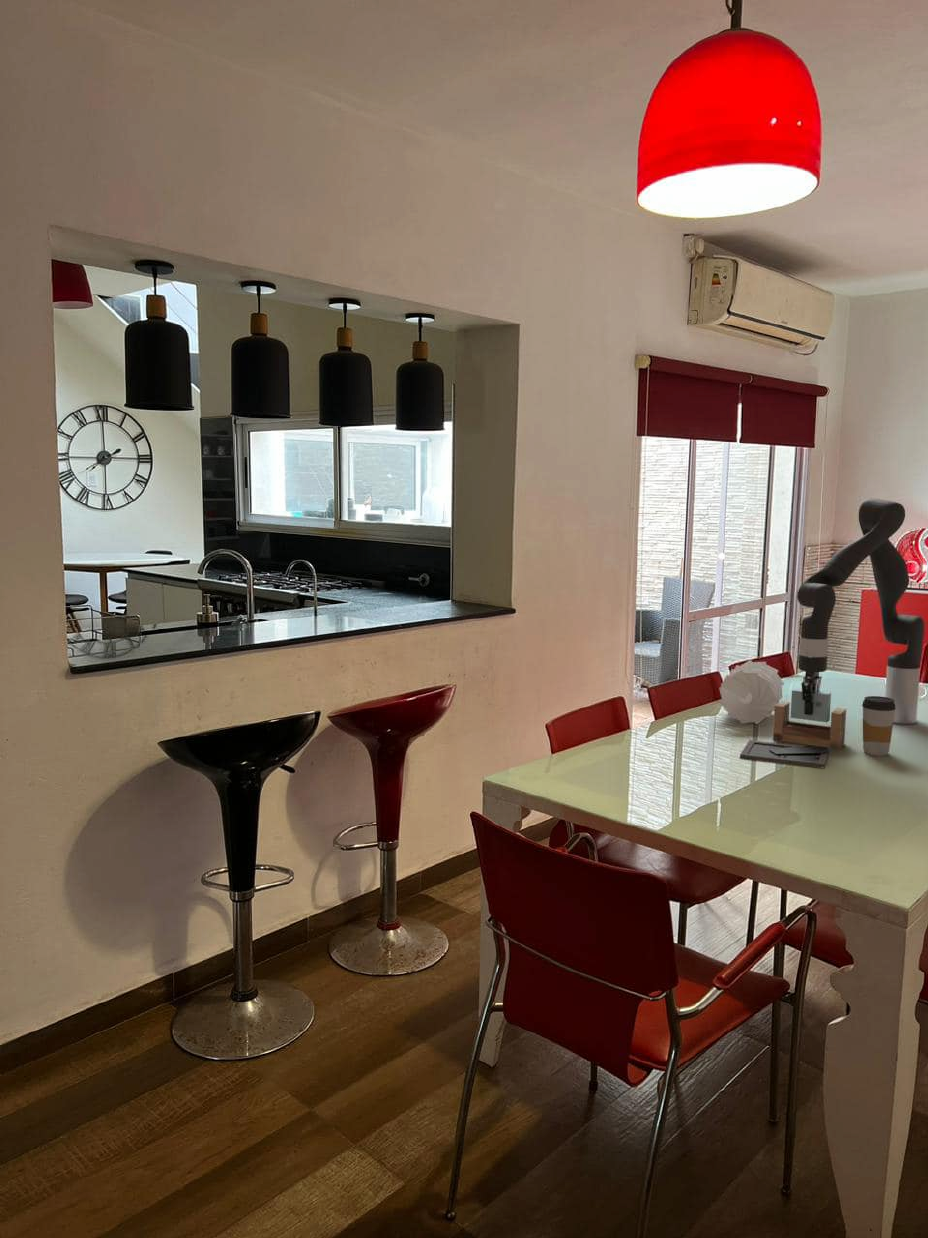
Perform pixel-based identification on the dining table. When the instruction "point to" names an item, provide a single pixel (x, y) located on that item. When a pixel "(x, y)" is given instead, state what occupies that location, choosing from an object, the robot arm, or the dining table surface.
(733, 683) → the spiral staircase
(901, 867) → the dining table surface
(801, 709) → the door panel
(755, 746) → the picture frame
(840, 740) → the track
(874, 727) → the coffee cup
